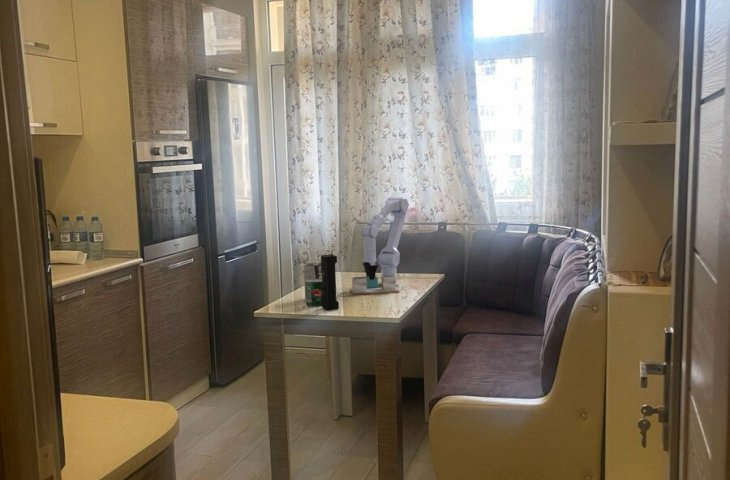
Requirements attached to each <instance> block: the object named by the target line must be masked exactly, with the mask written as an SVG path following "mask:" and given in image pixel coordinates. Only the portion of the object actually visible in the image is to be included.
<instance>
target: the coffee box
mask: <svg viewBox="0 0 730 480" xmlns="http://www.w3.org/2000/svg"><path fill="white" fill-rule="evenodd" d="M303 271H304V273H303V274H304V275H303V276H304V280H303V281H305V280H308V279H322V274H321V262H313V263H311V262H309V263H307V264H305V265H304V266H303ZM304 300H305V302H306V285H305V284H304Z"/></svg>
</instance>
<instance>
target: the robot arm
mask: <svg viewBox="0 0 730 480" xmlns="http://www.w3.org/2000/svg"><path fill="white" fill-rule="evenodd" d="M409 206H410V205H409V201H408V199H407V197H404V196H403V197H392V196H390V197H388V198H387V199H386V200H385V205H384V206H383V208H382V209H381V210H380V212H379V214H375V215H373V216H372V218H371V219H370V220H369V222H368V223H367V224H365V225H364V226H362V227H361V229H360V235H361V237H362V241H363V259H361V262H363V263H362V265H363V268H364V270H365V276H369V278H370V280H374V279H375V276H376V272H377V270H378V267H379V266H380V268H381V270H380V271H381V272H380V275H381V276H383V275H394V276H396V286H399V285H400V284H399V283H398V280H397V278H398V277H397V267H398V266H399V264H400V261H401V260H400V259H401V258H400V257H401V253H400V251H399V250H398V246H399V243H400V239H401V235H402V231H403V229H404V228H403V227H404V225H405V221H406V217H407V212H408V209H409ZM390 214H391V216H393V222H392V225H391V229H390V231H389V236H388V239H387V243H386V246H385V247H384V248H382V249H381V251H380V253H379V254H378V257H377V252H376V251H377V248H376V246H377V245H376V244H377V243H376V242H377V241H376V237H377V236H378V235H379V231H380V228H381V227H382V226H383V225H384V224H385V219H386V218H387V217H388V216H389V215H390ZM376 262H377V263H378V264H376ZM381 276H380V277H381ZM379 284H380V285H381V286H382V280H380V281H379Z"/></svg>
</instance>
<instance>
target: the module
mask: <svg viewBox="0 0 730 480" xmlns="http://www.w3.org/2000/svg"><path fill="white" fill-rule="evenodd" d="M364 277H365V278H366V280H367V289H373V288H379V277H378V276H376V275H375V279H374V280H370V278H369V276H367V275H365V276H364Z"/></svg>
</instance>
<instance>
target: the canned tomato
mask: <svg viewBox="0 0 730 480" xmlns="http://www.w3.org/2000/svg"><path fill="white" fill-rule="evenodd" d="M321 283H322V279H308V280H304V286H305V285H306V301H305V302H306V304H305V305H306V307H307V308H308V307H309V308H318V307H321Z"/></svg>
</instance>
